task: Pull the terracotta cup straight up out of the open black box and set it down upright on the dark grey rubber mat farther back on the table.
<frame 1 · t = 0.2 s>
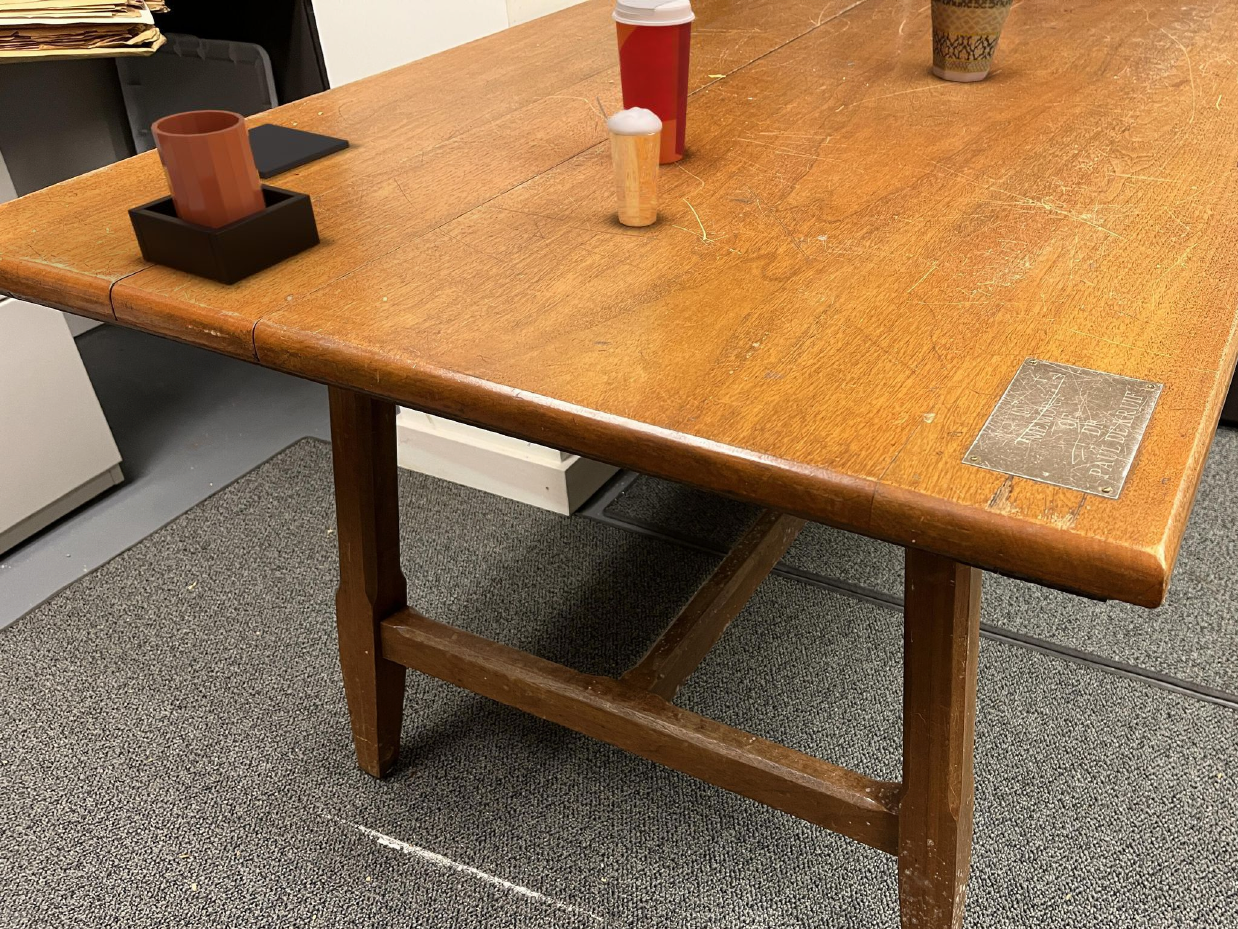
cup: (216, 189, 82), in the open black box
coaster: (267, 152, 104), on the table
paper cup: (655, 157, 106), on the table
milkshake: (632, 221, 92), on the table
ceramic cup: (962, 73, 134), on the table
open black box: (233, 251, 85), on the table
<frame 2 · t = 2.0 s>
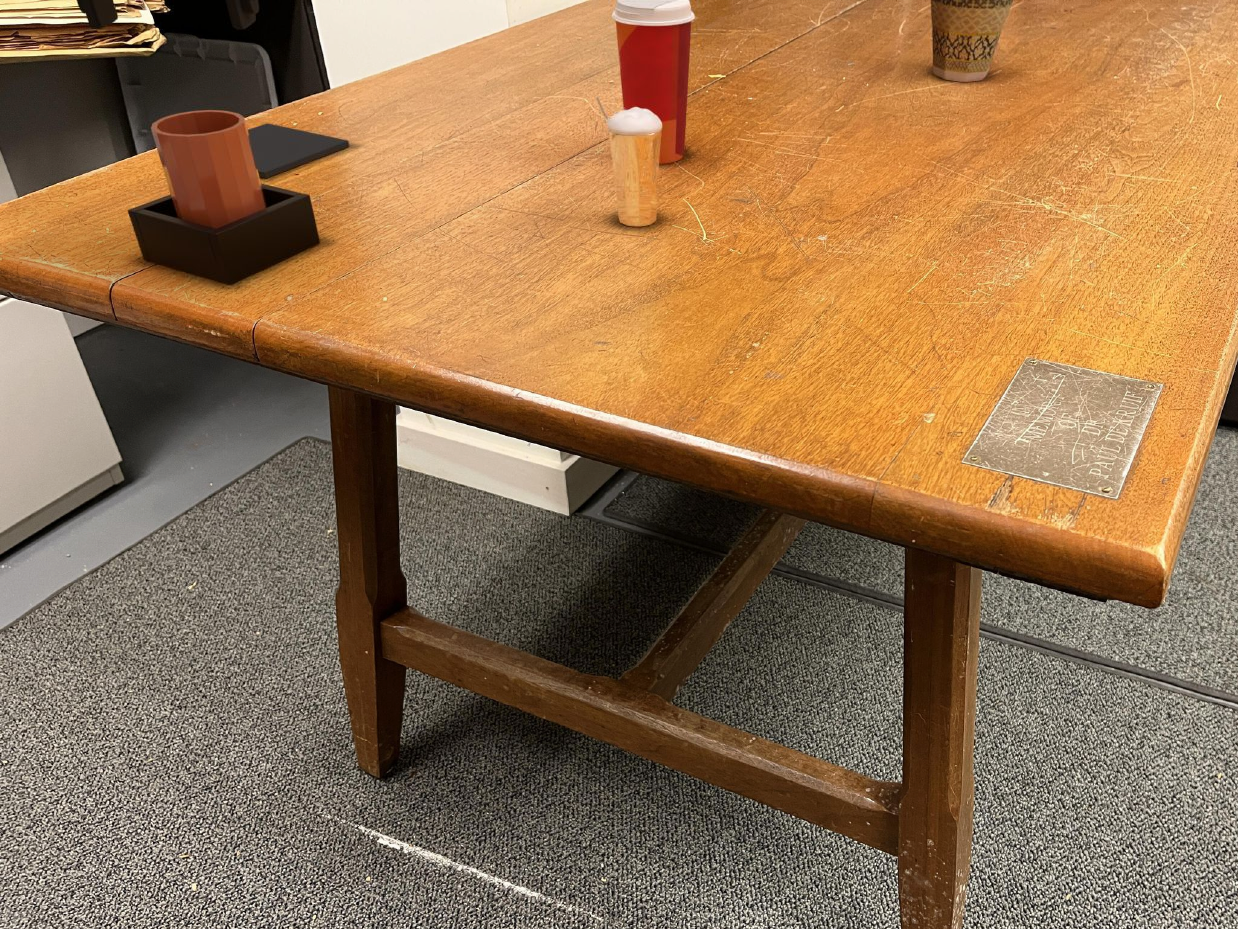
hand: (175, 25, 75), 17 cm above the table, tool pointing down, fingers open, 9 cm apart
nothing on the table moved.
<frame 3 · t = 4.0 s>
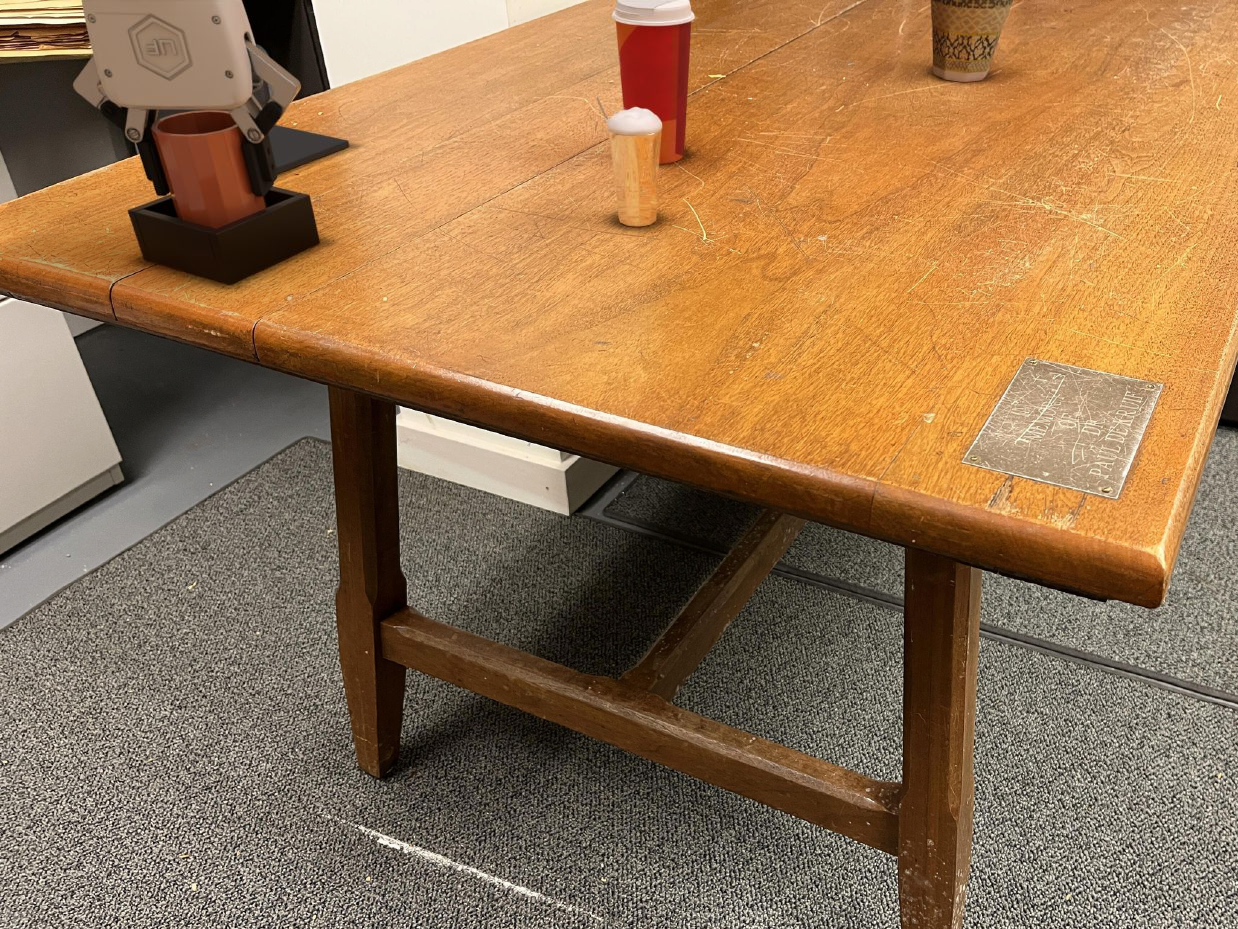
hand: (216, 188, 82), 5 cm above the table, tool pointing down, fingers closed on cup, 6 cm apart
cup: (216, 189, 82), in the open black box, touching gripper
everything else where it was.
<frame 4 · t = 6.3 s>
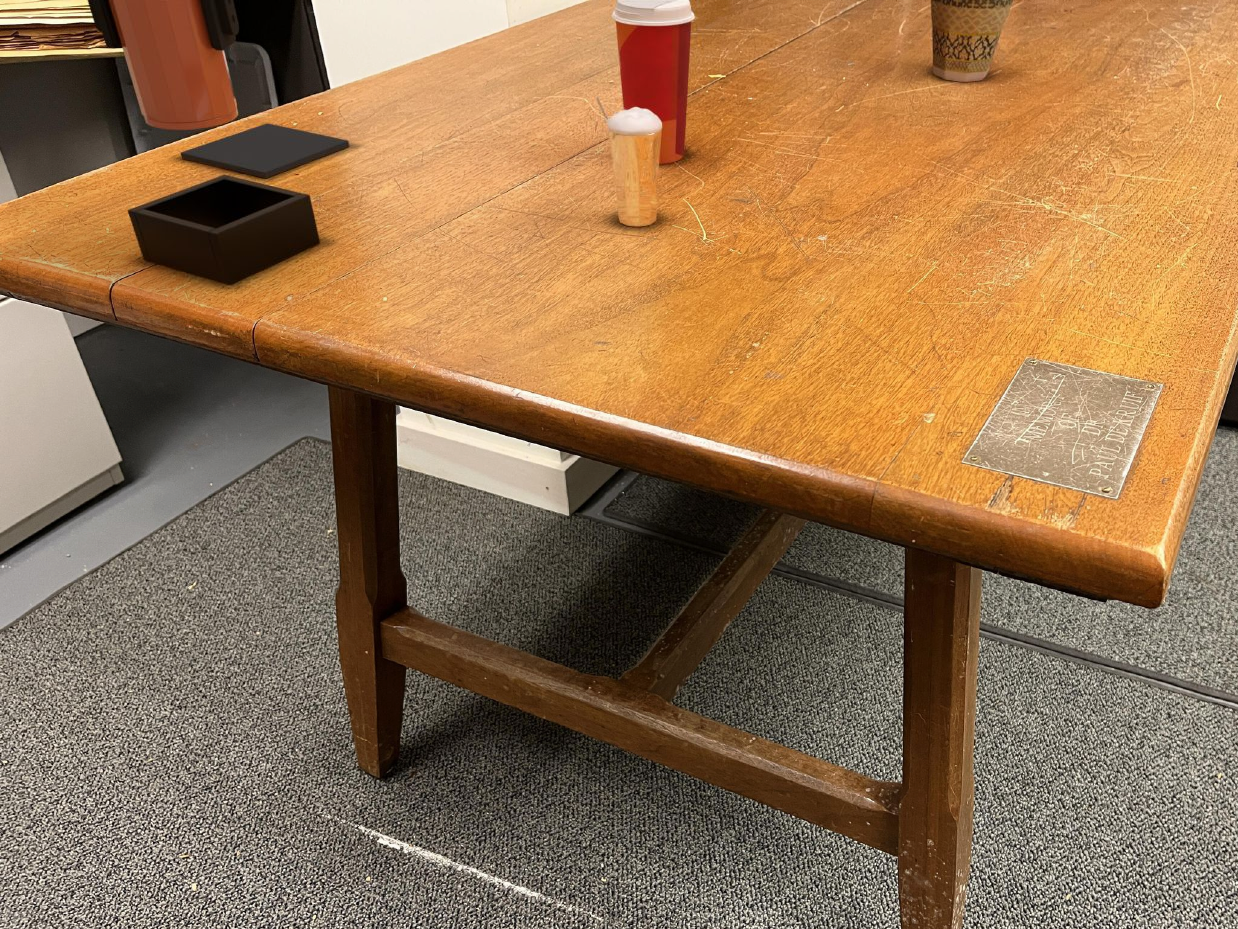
hand: (172, 42, 75), 16 cm above the table, tool pointing down, fingers closed on cup, 6 cm apart
cup: (172, 44, 75), point 15 cm above the table, touching gripper
everything else where it was.
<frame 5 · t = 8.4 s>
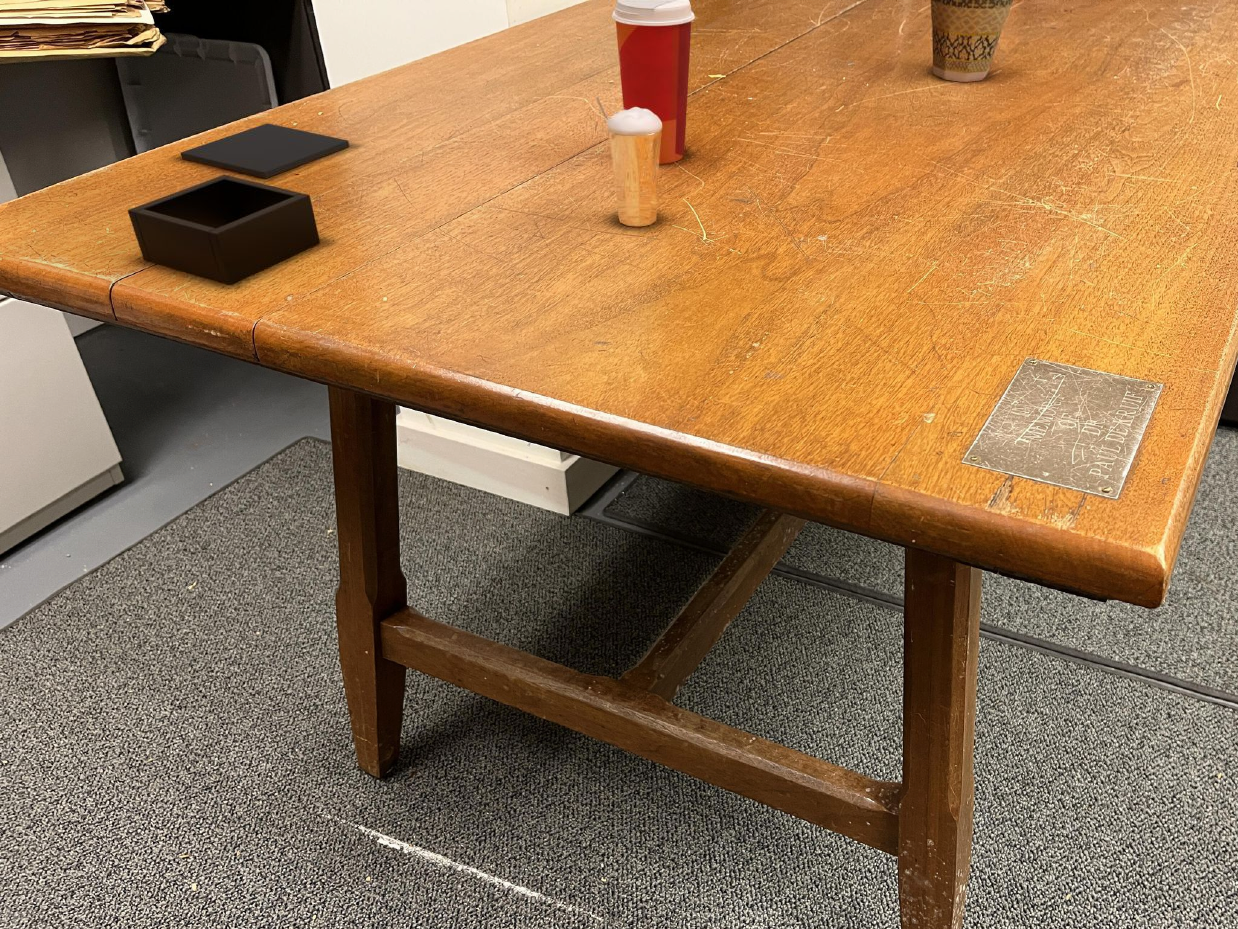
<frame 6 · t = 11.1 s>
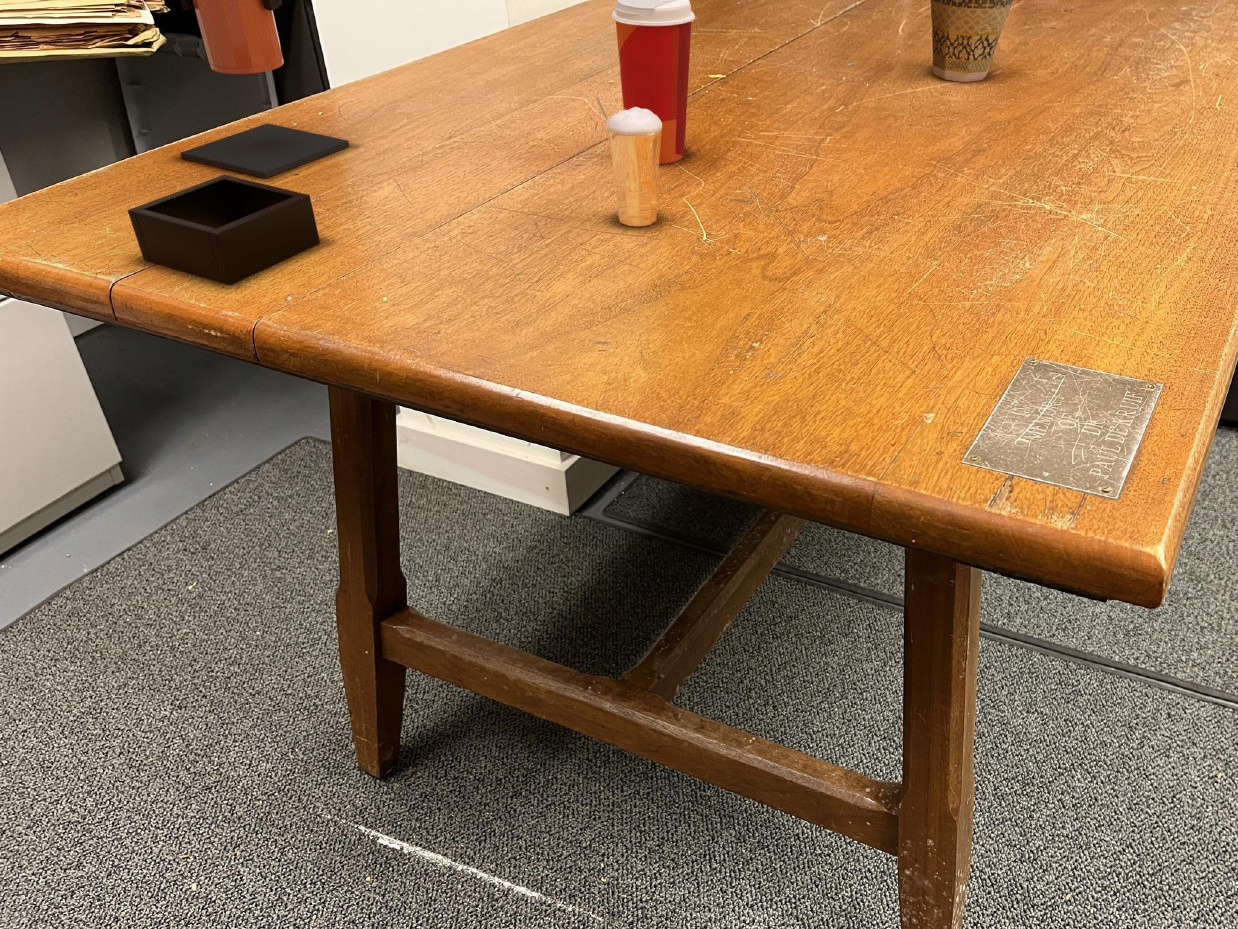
hand: (233, 5, 96), 13 cm above the table, tool pointing down, fingers closed on cup, 6 cm apart
cup: (233, 6, 96), point 13 cm above the table, touching gripper
everything else where it was.
when the fingers open (6 cm above the table, at t = 13.2 s): cup stays where it is, resting on coaster.
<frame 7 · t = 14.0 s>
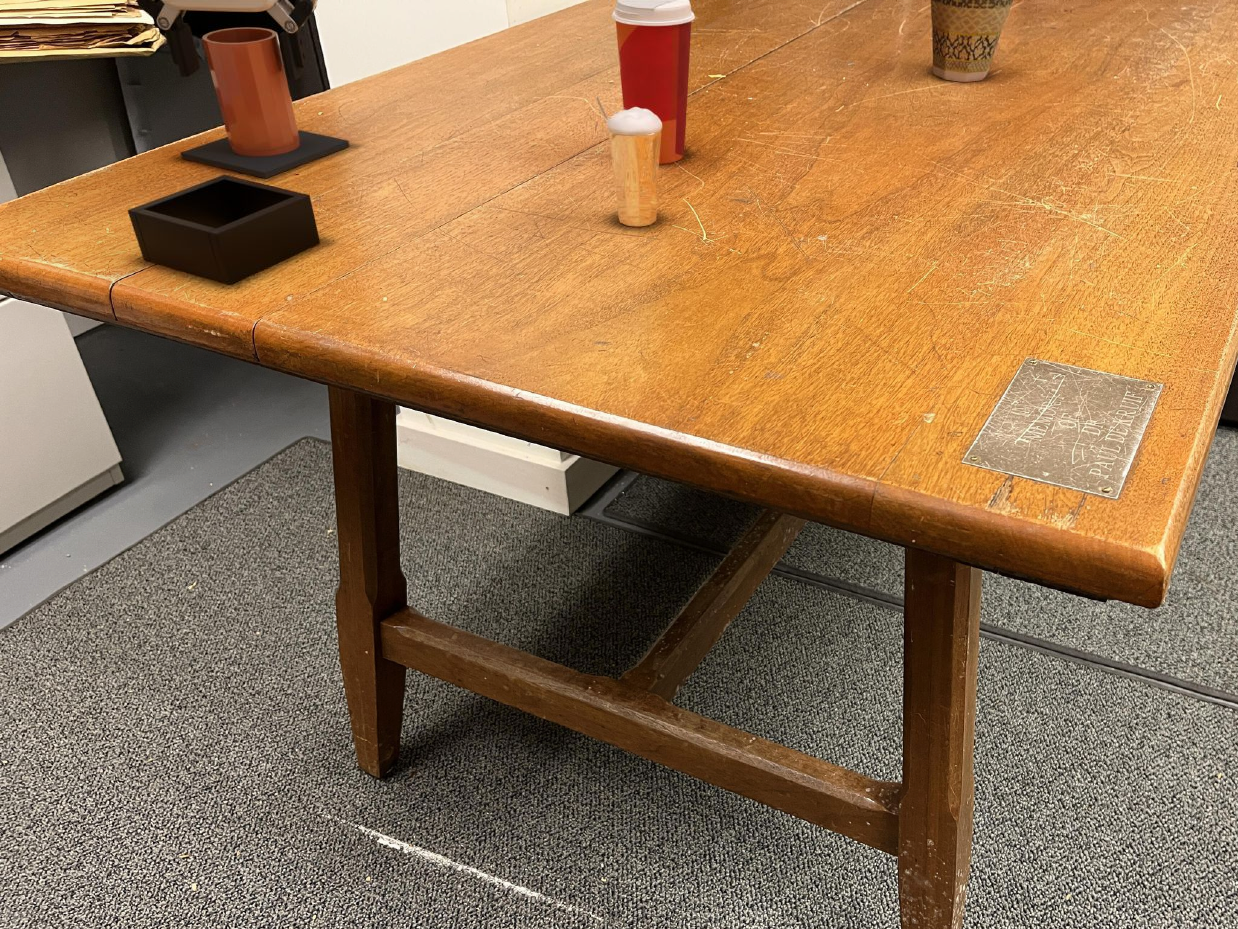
hand: (243, 74, 99), 7 cm above the table, tool pointing down, fingers open, 9 cm apart
cup: (253, 92, 100), on the coaster, point 6 cm above the table
everything else where it was.
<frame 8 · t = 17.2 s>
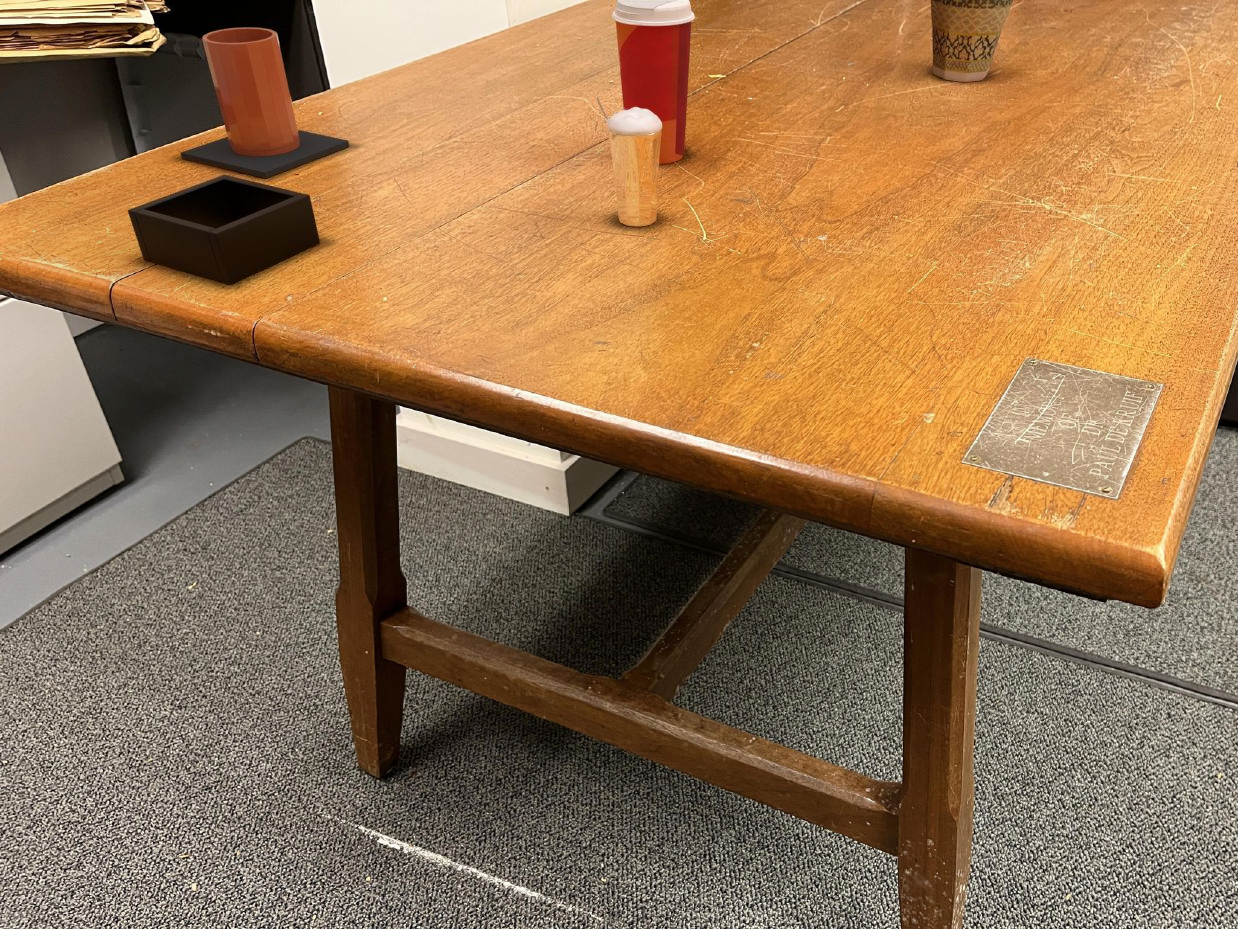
nothing on the table moved.
at the end: cup 0.1 cm off-centre on the coaster, point 5.6 cm above the coaster's base; cup tilted 0°; cup touching coaster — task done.
